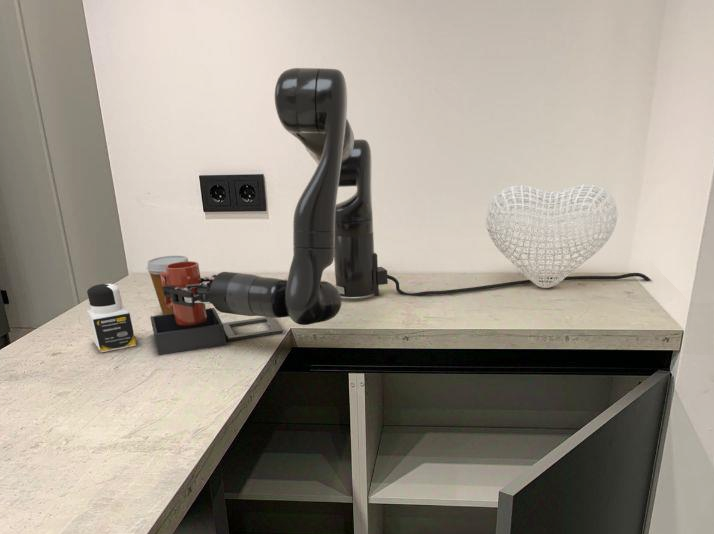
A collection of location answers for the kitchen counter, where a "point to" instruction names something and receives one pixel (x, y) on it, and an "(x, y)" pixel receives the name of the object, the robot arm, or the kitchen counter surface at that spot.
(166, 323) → the grey square storage bin
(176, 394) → the kitchen counter surface
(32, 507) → the kitchen counter surface
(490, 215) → the heart
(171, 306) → the red mug
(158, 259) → the disposable coffee cup
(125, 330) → the medicine bottle
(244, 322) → the hollow square frame
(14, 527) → the kitchen counter surface
